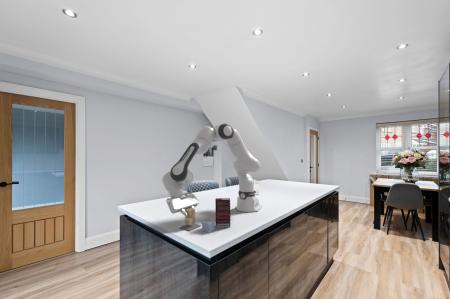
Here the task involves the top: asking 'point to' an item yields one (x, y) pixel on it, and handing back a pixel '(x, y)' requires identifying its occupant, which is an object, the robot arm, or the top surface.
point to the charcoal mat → (190, 227)
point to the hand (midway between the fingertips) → (190, 215)
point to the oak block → (190, 216)
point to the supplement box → (222, 212)
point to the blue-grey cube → (208, 226)
